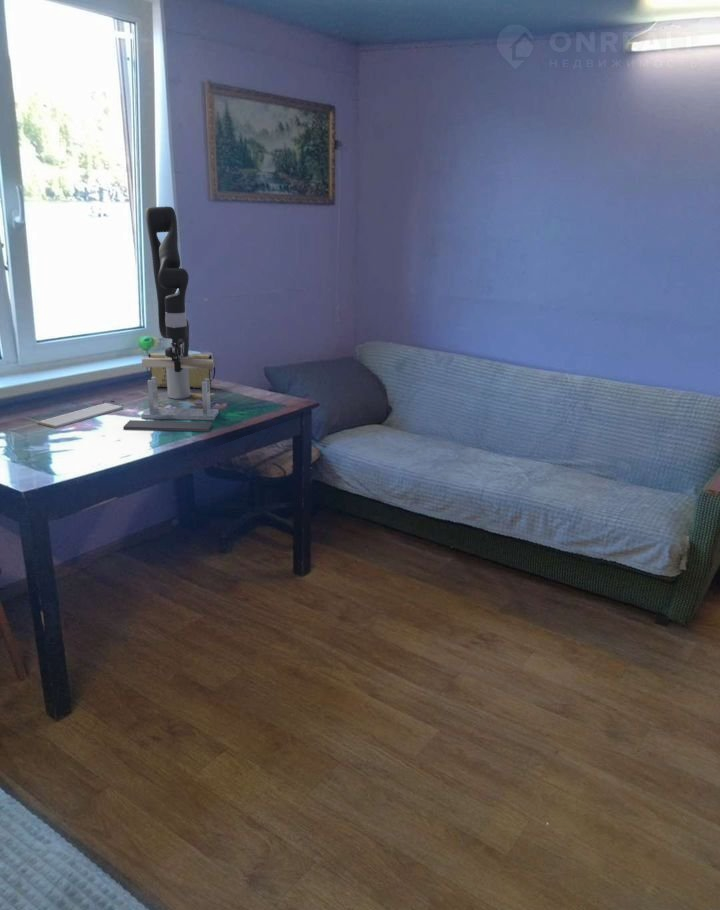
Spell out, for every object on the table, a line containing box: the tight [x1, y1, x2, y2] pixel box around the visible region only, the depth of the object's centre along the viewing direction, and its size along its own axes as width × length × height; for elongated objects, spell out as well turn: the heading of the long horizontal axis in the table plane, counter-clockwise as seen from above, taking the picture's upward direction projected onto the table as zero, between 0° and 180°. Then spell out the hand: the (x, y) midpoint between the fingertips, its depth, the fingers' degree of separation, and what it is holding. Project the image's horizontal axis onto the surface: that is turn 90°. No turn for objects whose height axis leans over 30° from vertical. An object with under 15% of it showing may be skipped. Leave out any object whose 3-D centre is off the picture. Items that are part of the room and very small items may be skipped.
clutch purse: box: [145, 353, 216, 389], centre depth 307 cm, size 30×7×15 cm, turn 92°
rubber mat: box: [123, 419, 213, 433], centre depth 253 cm, size 8×30×1 cm, turn 91°
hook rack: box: [140, 377, 219, 421], centre depth 265 cm, size 10×27×14 cm, turn 91°
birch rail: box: [141, 356, 215, 370], centre depth 261 cm, size 3×26×3 cm, turn 91°
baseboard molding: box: [35, 399, 124, 429], centre depth 263 cm, size 31×3×12 cm
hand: (178, 370), depth 262 cm, fingers closed on birch rail, 3 cm apart
